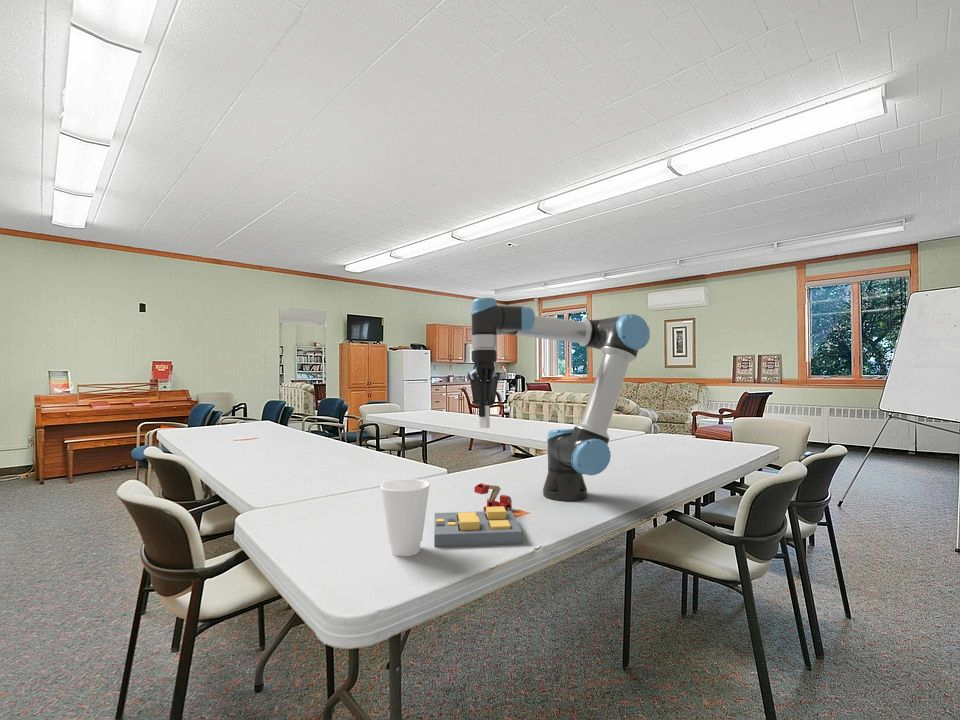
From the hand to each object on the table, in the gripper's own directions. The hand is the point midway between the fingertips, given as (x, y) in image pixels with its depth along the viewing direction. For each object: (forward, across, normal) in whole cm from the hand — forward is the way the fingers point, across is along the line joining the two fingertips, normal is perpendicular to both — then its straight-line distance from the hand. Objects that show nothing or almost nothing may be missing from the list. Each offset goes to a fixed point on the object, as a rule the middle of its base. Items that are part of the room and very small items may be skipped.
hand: (484, 427), depth 145 cm
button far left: (+25, +6, +9) cm, 27 cm away
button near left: (+26, +12, +15) cm, 32 cm away
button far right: (+26, +12, +4) cm, 29 cm away
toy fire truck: (+27, -4, +1) cm, 27 cm away
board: (+26, +13, +8) cm, 31 cm away
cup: (+27, +34, +3) cm, 43 cm away
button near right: (+25, +18, +9) cm, 32 cm away
